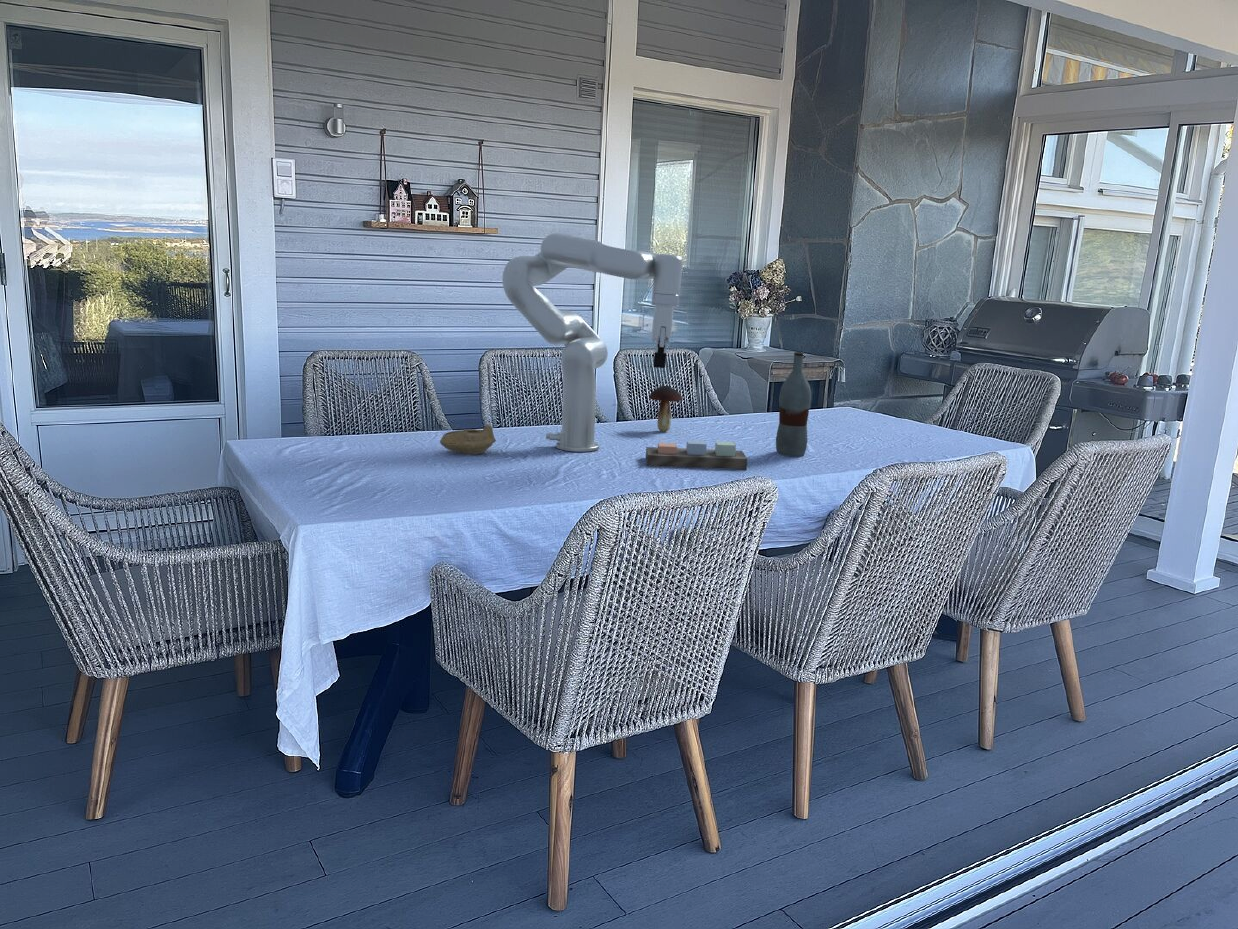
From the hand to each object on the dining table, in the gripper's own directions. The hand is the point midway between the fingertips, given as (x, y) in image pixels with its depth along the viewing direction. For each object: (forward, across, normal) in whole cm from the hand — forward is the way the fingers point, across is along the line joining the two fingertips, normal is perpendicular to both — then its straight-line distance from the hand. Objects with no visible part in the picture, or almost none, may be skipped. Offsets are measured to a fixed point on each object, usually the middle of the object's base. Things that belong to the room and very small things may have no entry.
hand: (659, 367), depth 268 cm
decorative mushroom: (+26, -40, +5) cm, 48 cm away
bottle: (+24, -13, +42) cm, 50 cm away
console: (+25, +7, +12) cm, 29 cm away
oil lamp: (+28, +7, -51) cm, 58 cm away
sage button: (+23, +6, +20) cm, 31 cm away
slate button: (+23, +7, +12) cm, 27 cm away
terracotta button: (+25, +7, +4) cm, 26 cm away
